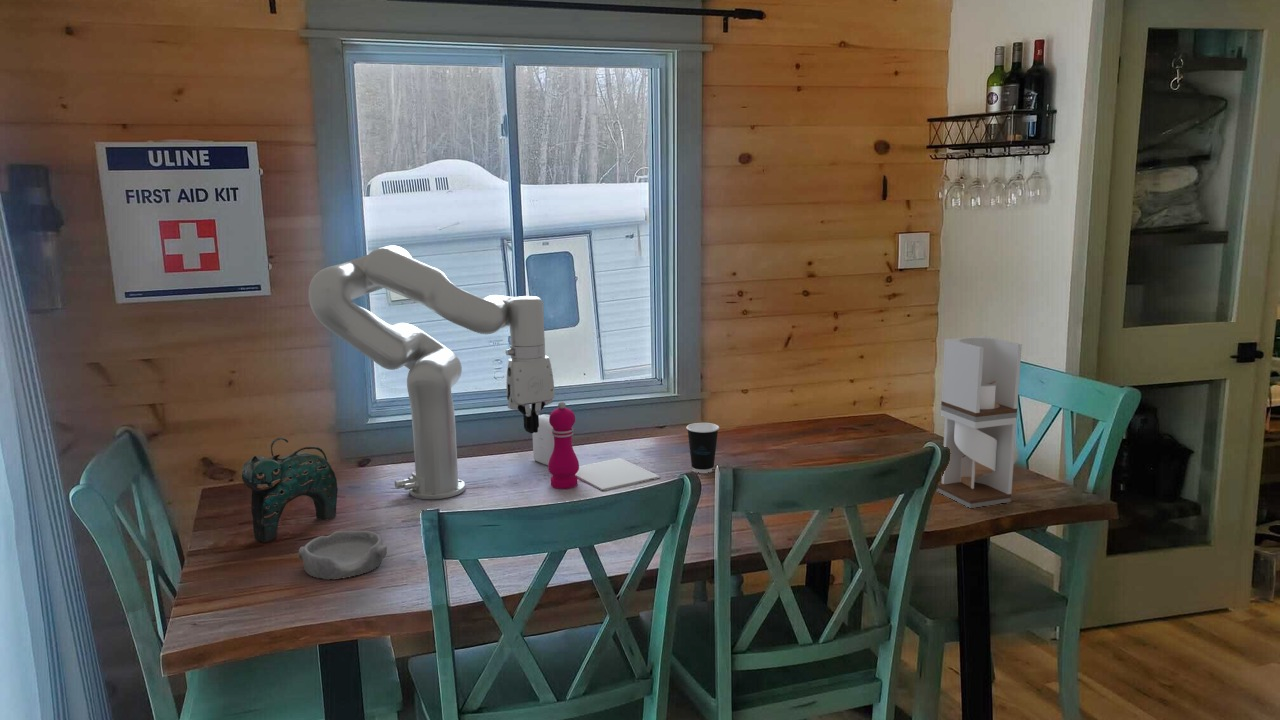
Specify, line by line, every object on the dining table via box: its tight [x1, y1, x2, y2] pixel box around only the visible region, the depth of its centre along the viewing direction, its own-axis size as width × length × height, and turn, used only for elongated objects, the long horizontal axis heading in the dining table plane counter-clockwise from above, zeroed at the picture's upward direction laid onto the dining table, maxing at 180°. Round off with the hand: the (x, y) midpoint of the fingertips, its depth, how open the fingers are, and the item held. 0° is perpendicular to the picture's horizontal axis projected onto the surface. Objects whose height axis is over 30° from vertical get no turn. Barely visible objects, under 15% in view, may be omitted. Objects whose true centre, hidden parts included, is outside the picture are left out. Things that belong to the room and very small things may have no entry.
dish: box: [298, 530, 388, 580], centre depth 171 cm, size 14×14×5 cm
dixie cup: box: [685, 422, 720, 474], centre depth 224 cm, size 8×8×11 cm
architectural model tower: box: [936, 335, 1023, 509], centre depth 200 cm, size 11×11×35 cm
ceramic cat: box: [241, 437, 339, 544], centre depth 188 cm, size 20×6×20 cm, turn 145°
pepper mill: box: [547, 401, 580, 490], centre depth 213 cm, size 7×7×20 cm
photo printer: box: [531, 414, 554, 466], centre depth 231 cm, size 10×4×12 cm, turn 39°
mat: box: [575, 457, 661, 491], centre depth 222 cm, size 16×18×1 cm
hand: (531, 431), depth 208 cm, fingers closed
